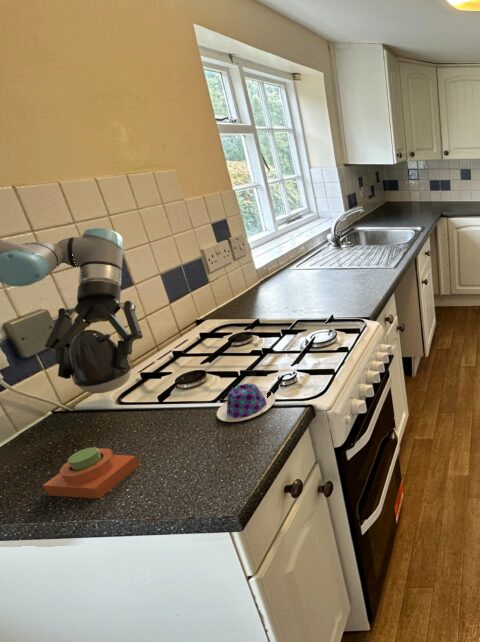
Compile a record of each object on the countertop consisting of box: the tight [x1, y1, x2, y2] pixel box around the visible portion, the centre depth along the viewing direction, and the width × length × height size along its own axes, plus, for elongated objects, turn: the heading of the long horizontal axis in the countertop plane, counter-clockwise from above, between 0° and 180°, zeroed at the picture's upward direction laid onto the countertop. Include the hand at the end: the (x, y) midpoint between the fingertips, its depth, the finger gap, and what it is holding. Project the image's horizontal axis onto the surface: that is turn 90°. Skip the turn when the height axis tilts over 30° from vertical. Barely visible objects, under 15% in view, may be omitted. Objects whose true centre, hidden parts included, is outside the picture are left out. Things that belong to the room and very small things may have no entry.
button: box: [67, 446, 102, 471], centre depth 75 cm, size 4×4×2 cm
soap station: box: [42, 447, 140, 499], centre depth 77 cm, size 10×8×4 cm
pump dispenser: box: [69, 329, 132, 394], centre depth 97 cm, size 10×10×15 cm
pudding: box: [216, 383, 276, 423], centre depth 97 cm, size 12×12×5 cm
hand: (93, 372), depth 95 cm, fingers closed on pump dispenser, 10 cm apart
